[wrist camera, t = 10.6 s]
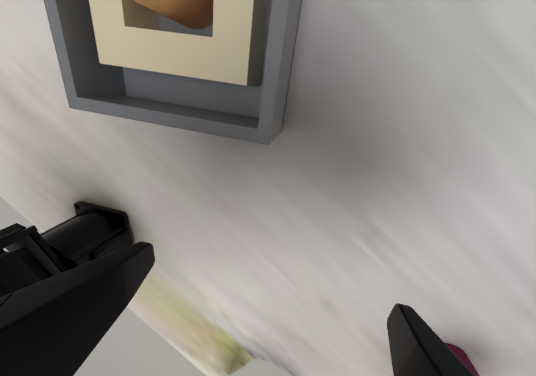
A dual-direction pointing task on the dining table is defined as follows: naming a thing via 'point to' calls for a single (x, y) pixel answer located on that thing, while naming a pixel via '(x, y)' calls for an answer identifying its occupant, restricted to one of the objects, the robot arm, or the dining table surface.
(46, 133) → the dining table surface
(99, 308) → the robot arm
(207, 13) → the peg
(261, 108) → the socket tray
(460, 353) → the cup
